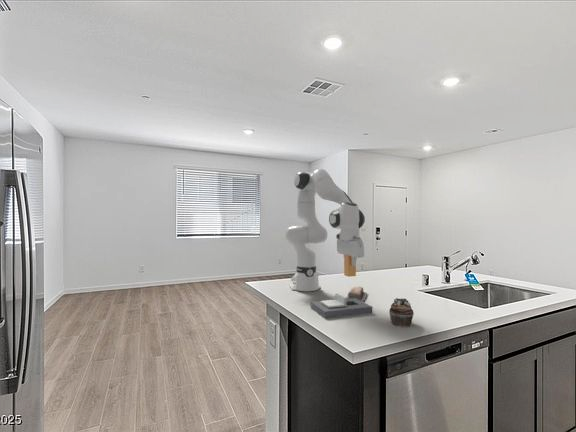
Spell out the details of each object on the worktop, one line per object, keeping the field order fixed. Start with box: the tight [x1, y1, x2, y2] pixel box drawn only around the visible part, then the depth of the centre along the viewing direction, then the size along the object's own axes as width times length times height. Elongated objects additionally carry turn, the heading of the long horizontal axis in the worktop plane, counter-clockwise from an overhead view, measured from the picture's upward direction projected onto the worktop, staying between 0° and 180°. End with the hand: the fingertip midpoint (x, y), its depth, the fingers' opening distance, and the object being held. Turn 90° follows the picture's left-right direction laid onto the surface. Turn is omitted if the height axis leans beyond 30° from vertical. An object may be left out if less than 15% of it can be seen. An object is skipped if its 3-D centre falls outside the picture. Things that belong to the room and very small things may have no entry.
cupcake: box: [388, 297, 415, 328], centre depth 125 cm, size 10×10×10 cm
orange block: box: [343, 254, 357, 278], centre depth 144 cm, size 4×4×10 cm
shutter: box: [320, 293, 346, 308], centre depth 141 cm, size 9×9×4 cm
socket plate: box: [310, 298, 373, 319], centre depth 142 cm, size 16×24×3 cm, turn 108°
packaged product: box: [345, 286, 368, 303], centre depth 166 cm, size 18×5×10 cm
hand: (350, 264), depth 144 cm, fingers closed on orange block, 4 cm apart
